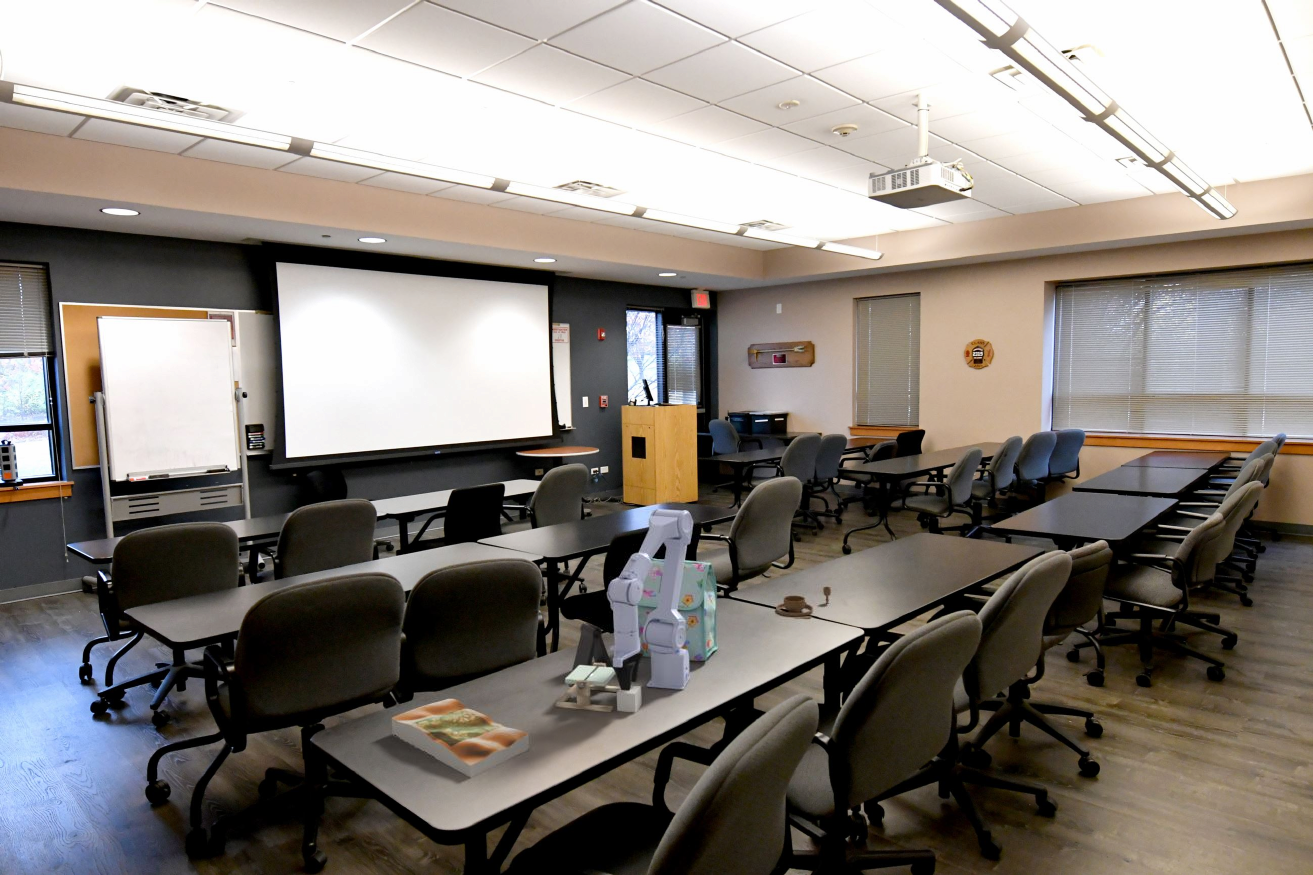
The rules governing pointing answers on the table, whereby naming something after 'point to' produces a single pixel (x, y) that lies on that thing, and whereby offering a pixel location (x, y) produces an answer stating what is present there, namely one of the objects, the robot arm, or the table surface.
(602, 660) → the phone stand
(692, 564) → the lunch bag
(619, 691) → the light grey cube
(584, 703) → the trapdoor frame
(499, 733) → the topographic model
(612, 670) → the trapdoor
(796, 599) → the place setting
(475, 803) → the table surface
